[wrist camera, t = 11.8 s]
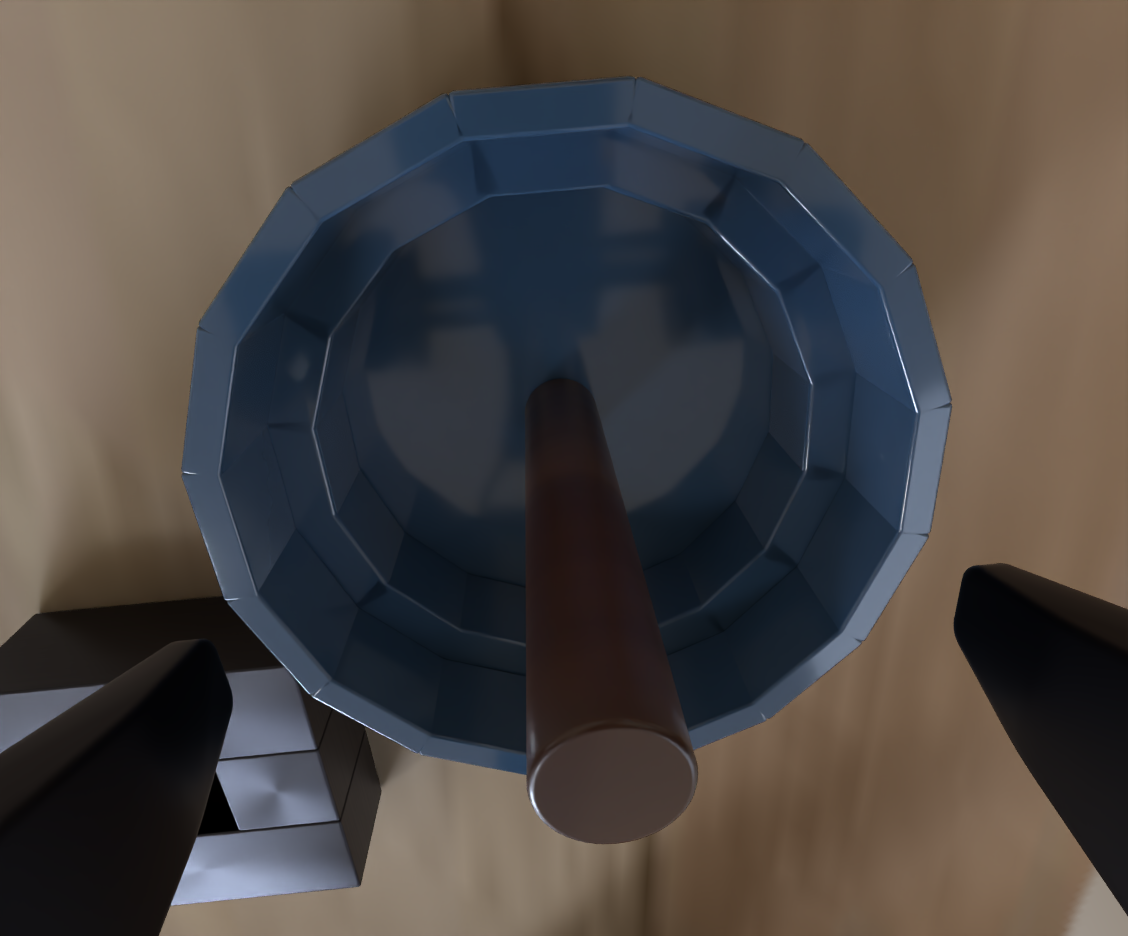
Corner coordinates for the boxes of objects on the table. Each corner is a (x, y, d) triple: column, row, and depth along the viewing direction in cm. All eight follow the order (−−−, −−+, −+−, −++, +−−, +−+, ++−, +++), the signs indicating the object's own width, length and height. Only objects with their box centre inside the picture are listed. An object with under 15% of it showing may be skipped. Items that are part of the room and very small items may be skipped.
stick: (598, 442, 16) (699, 839, 7) (528, 448, 16) (535, 855, 7) (594, 374, 15) (700, 715, 6) (521, 380, 15) (517, 732, 6)
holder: (382, 790, 21) (360, 887, 18) (133, 815, 21) (74, 916, 18) (327, 585, 18) (291, 665, 15) (34, 613, 17) (-56, 698, 15)
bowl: (805, 597, 19) (896, 743, 14) (350, 641, 18) (293, 802, 14) (850, 78, 13) (1017, 42, 9) (217, 131, 13) (56, 123, 9)
